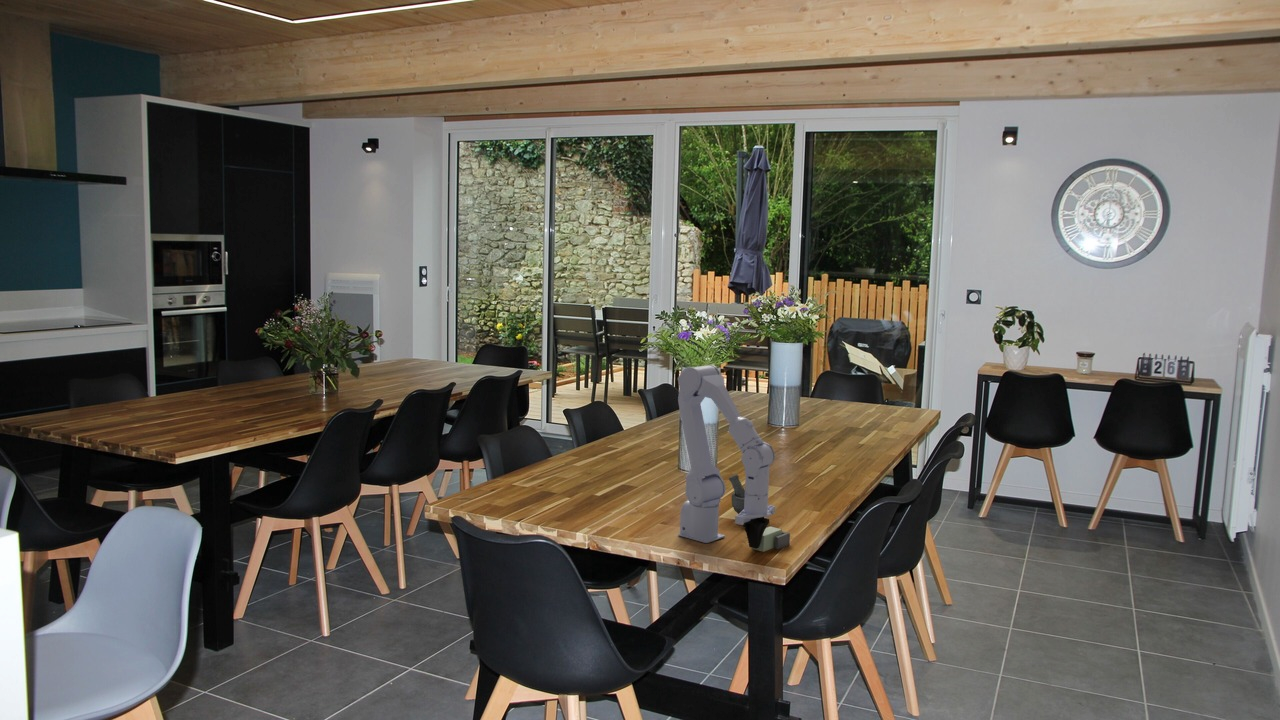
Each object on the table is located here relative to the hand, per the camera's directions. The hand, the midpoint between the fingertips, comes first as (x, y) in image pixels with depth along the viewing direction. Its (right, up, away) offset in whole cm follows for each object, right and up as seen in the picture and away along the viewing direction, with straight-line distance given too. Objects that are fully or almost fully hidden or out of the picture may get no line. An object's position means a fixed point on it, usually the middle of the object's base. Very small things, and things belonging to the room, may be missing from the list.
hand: (754, 547), depth 231 cm
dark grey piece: (+5, -1, +6) cm, 8 cm away
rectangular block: (+4, -1, +4) cm, 6 cm away
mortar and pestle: (+1, +2, +28) cm, 28 cm away
